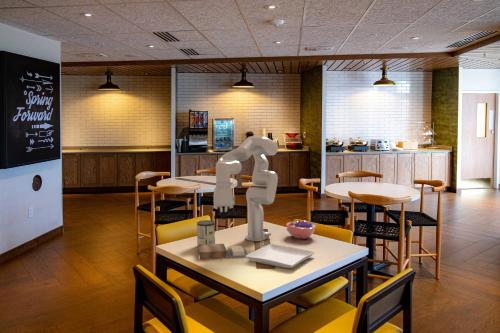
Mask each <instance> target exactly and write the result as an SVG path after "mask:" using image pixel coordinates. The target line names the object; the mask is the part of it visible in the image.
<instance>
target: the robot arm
mask: <svg viewBox="0 0 500 333" xmlns="http://www.w3.org/2000/svg"><path fill="white" fill-rule="evenodd" d="M278 150H279V149H278V143H277V142H276V141H274V140H273V139H270V138H268V137H265V136H248V137H247V138H246V139H245V140H243V142H242V143H241V144H240V146H238V147H237V148H235V149H233V150H231V151H228V152H226V153H224V154H223V155H222V156H220V158H219V159H218V160H217V162H216V163H215V187H214V190H213V207H212V208H213V209H216V210H218V211H219V212H220V218H221V219H222V220H226V218H227V212H228V211H229V209H233V208H234V197H233V196H234V195H233V188H232V186H234V183H233V182H232V181H231V175H238V174H239V173H240V172H241V171H242V167H243V166H242V163H241V162H243V161H247V160H248V159H250V158H251V157H252V156H253V160H254V166H253V171H252V176H251V182H252V185H253V186H255V187H249V188H247V190H246V192H245V197H246V204H247V235H245V237H244V239H245V240H246V241H249V242H261V241H262V242H263V241H265V240H266V239H267V237H266V236H268V237H270V236H272V232H268V231H264V207H263V205H271V204H273V203H274V201H275V198H276V193H277V186H278V179H279V178H278V174H277V173H276V172H275V171H272V170H269V160H268V159H267V156H275V155H276V154H277V153H278ZM257 186H258V187H257ZM223 207H224V208H223Z"/></svg>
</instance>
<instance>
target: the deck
mask: <svg viewBox="0 0 500 333" xmlns="http://www.w3.org/2000/svg"><path fill="white" fill-rule="evenodd" d="M197 250H198V257H199V261H200V260H201V261H203V260H204V261H205V260H218V259H219V260H223V259H228V255H227V250H228V249H226V246H225V243H215V244H204V245H198V247H197Z"/></svg>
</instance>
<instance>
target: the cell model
mask: <svg viewBox="0 0 500 333" xmlns="http://www.w3.org/2000/svg"><path fill="white" fill-rule="evenodd" d="M285 225H286V231H287V232H288V234H290V236H292V237H294V238H295V239H301V240H303V239H304V240H307V239H309V238H310V237H311V236H312V235H313V233H314V232H315V230H316V227H317V224H315V223H313V222H308V221H307V220H300V219H298V220H297V221H296V220H292V221H289V222H287V223H286V224H285Z"/></svg>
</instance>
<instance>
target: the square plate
mask: <svg viewBox="0 0 500 333" xmlns="http://www.w3.org/2000/svg"><path fill="white" fill-rule="evenodd" d="M315 253H316V252H315V251H312V250H308V249H302V248H298V247H292V246H286V245H281V244H274V243H269V244H267V245H264V246H263V247H260V248H258V249H256V250H254V251H252V252H250V253H248V255H246V256H245V257H247V258H246V259H247V260H250V261H251V262H252V261H253V262H256V263H259V264H265V265H269V266H275V267H279V268H285V269H293V268H294V267H296V266H297V265H299V264H300V263H302V262H304V261H306V260H307V259H310V258H311V257H312V256H313V255H314V254H315Z"/></svg>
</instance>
